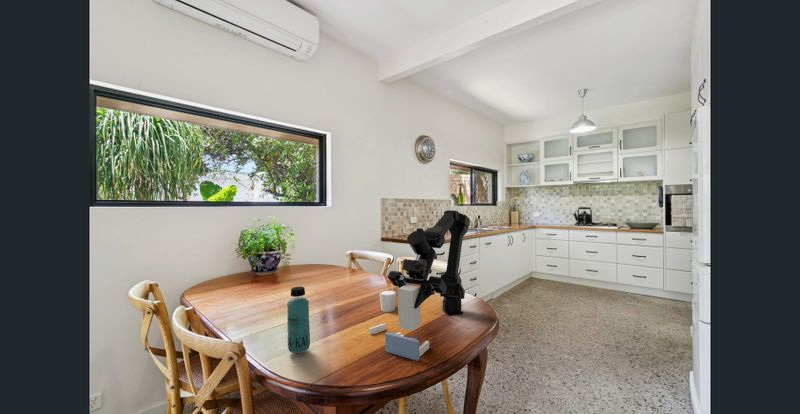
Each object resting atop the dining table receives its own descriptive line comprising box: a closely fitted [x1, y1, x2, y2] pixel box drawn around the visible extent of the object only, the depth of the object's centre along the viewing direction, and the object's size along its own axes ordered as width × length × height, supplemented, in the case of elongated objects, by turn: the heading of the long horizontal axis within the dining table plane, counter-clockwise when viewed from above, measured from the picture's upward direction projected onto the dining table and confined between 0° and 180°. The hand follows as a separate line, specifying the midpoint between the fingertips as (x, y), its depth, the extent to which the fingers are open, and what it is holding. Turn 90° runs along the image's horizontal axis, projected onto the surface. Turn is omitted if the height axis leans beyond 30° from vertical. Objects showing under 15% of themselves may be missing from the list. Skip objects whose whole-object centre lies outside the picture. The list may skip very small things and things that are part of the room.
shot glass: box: [379, 289, 397, 313], centre depth 132 cm, size 7×7×7 cm
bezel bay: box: [384, 332, 430, 362], centre depth 98 cm, size 8×11×6 cm
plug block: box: [397, 284, 422, 332], centre depth 99 cm, size 5×5×12 cm
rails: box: [368, 323, 402, 336], centre depth 108 cm, size 6×10×2 cm, turn 39°
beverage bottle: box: [286, 286, 311, 354], centre depth 97 cm, size 6×7×20 cm
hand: (407, 306), depth 98 cm, fingers closed on plug block, 5 cm apart
